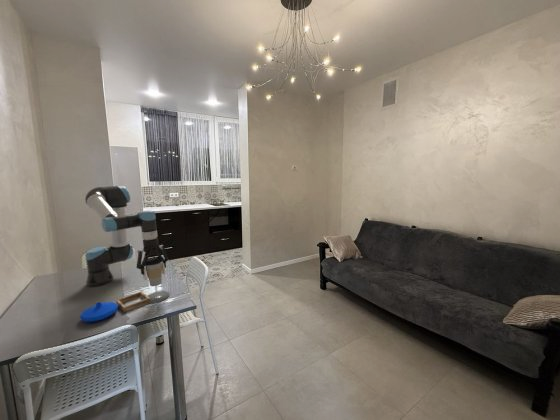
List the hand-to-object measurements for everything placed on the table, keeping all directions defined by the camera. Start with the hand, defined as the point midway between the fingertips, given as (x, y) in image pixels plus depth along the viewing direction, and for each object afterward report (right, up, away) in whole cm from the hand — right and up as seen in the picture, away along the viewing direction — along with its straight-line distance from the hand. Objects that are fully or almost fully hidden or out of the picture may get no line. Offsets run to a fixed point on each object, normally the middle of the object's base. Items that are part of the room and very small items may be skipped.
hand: (154, 276), depth 142 cm
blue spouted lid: (-20, -17, -15) cm, 30 cm away
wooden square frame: (-10, -14, -3) cm, 18 cm away
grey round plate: (0, -13, +2) cm, 13 cm away
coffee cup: (0, -5, +1) cm, 5 cm away
